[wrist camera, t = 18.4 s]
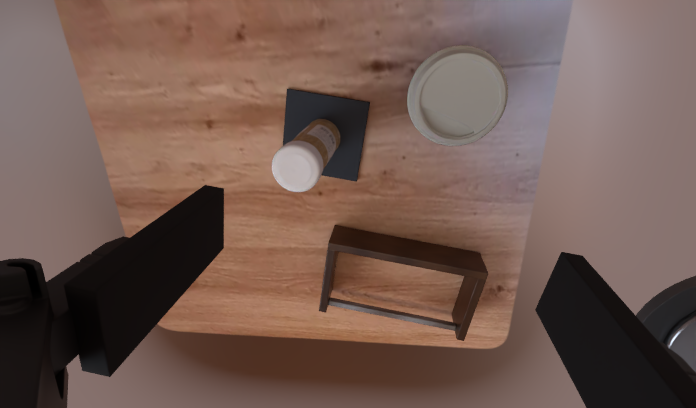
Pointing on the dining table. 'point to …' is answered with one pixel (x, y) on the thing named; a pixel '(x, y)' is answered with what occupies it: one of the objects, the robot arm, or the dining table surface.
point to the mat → (342, 114)
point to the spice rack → (411, 255)
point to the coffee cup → (457, 95)
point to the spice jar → (306, 156)
